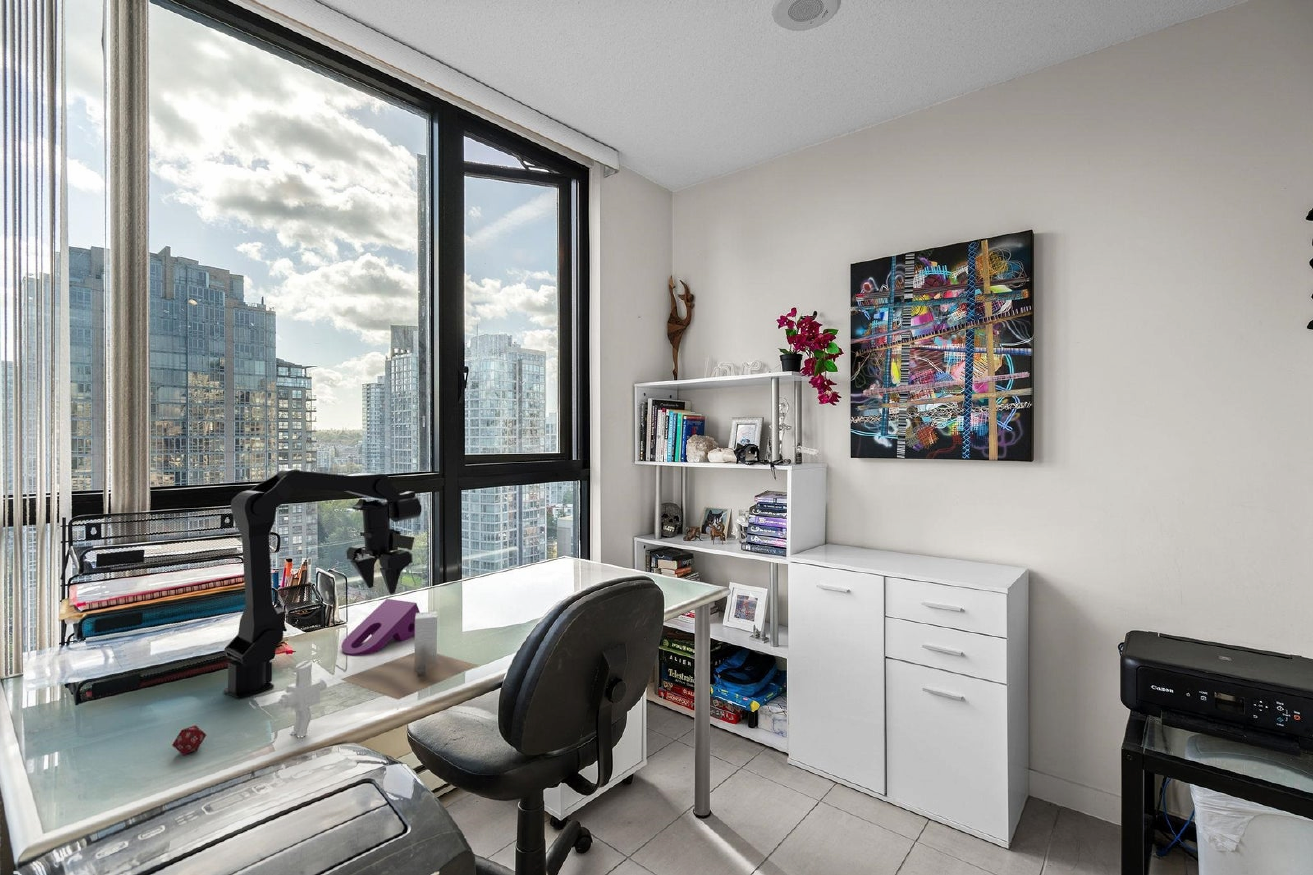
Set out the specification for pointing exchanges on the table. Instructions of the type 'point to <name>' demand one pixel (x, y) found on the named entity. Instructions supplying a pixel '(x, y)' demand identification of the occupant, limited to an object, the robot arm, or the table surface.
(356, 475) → the robot arm
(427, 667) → the block
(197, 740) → the dice
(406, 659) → the stub board
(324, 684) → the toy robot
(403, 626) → the mounting bracket
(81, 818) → the table surface
